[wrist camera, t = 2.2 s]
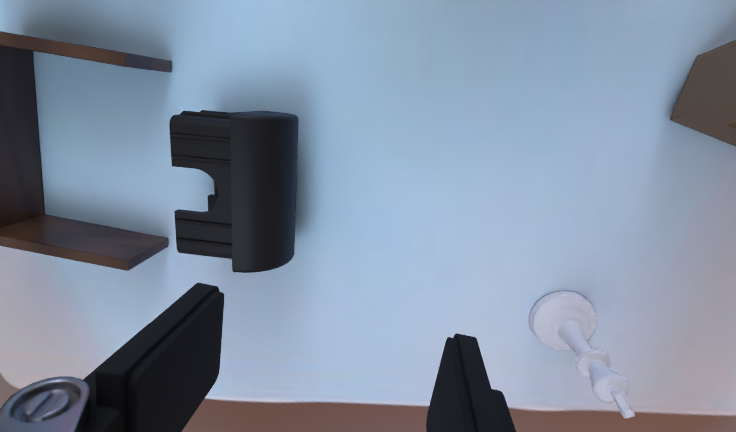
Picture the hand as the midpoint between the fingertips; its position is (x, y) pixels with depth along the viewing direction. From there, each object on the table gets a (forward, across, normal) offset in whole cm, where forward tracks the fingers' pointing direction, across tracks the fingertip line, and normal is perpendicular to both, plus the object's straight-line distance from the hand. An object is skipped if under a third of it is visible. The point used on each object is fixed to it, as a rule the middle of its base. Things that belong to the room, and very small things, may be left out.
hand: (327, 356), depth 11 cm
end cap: (+20, +9, 0) cm, 22 cm away
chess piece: (+20, -16, +7) cm, 26 cm away
